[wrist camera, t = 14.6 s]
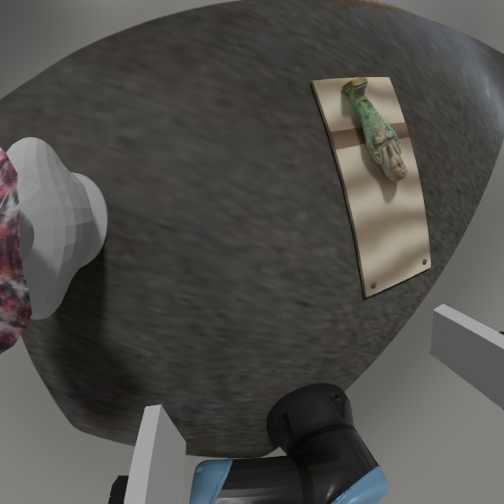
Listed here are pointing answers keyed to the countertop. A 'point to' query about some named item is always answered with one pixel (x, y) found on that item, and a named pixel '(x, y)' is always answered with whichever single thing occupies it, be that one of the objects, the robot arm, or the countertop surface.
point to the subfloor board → (376, 187)
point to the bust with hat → (42, 233)
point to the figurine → (376, 131)
